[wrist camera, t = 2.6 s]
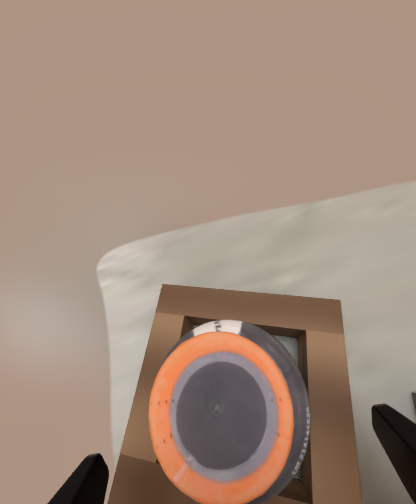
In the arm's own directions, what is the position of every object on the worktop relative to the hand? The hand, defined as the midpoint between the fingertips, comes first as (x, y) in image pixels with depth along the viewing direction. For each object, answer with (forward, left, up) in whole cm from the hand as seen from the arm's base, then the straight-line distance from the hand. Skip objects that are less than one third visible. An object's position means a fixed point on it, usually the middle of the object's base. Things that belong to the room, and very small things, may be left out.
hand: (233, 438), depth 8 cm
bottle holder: (+1, 0, -9) cm, 9 cm away
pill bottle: (+1, 0, -9) cm, 9 cm away
